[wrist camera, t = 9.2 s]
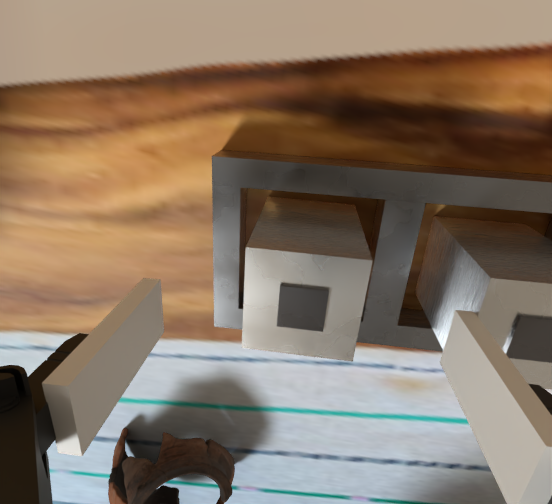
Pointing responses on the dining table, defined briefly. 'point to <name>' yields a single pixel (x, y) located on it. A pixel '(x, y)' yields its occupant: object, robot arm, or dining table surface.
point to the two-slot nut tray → (386, 229)
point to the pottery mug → (168, 470)
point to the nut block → (305, 279)
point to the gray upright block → (492, 287)
